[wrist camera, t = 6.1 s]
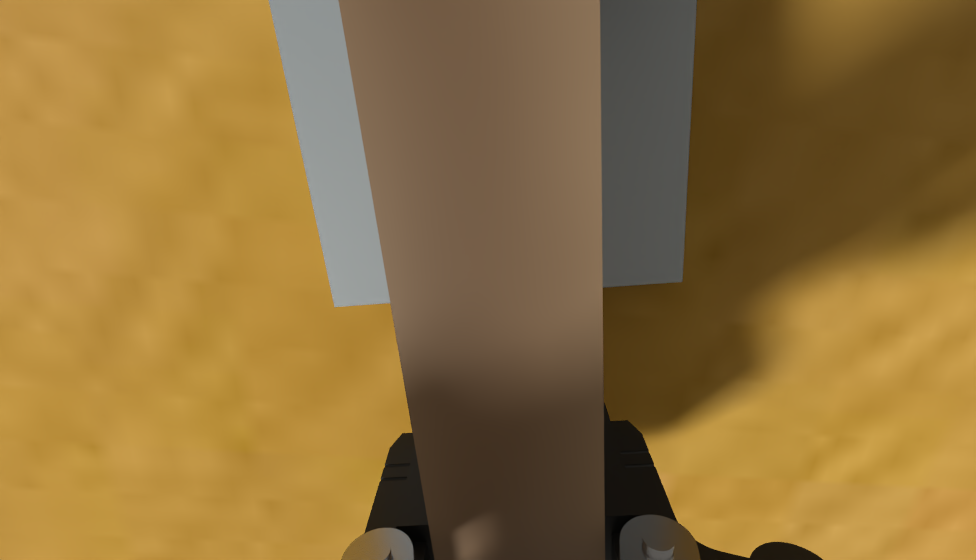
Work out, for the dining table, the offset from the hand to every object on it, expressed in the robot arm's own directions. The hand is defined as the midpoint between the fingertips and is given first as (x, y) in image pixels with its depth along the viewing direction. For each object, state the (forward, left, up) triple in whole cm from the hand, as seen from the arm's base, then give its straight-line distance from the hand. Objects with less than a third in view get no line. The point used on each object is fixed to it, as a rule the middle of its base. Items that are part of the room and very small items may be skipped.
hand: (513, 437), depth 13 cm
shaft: (0, -7, +1) cm, 7 cm away
